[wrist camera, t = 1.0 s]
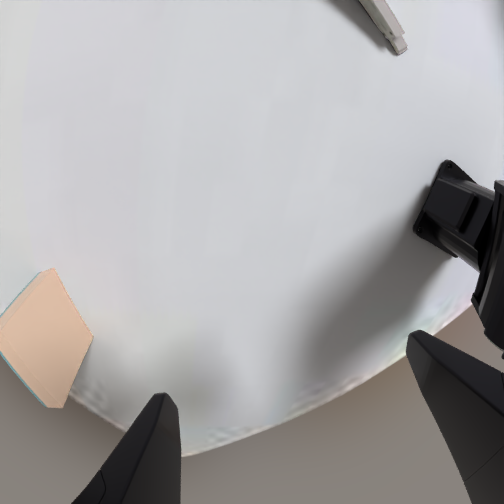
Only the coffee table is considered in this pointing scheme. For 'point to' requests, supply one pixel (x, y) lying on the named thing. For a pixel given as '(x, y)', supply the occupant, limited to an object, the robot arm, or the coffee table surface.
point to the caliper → (386, 22)
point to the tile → (44, 338)
